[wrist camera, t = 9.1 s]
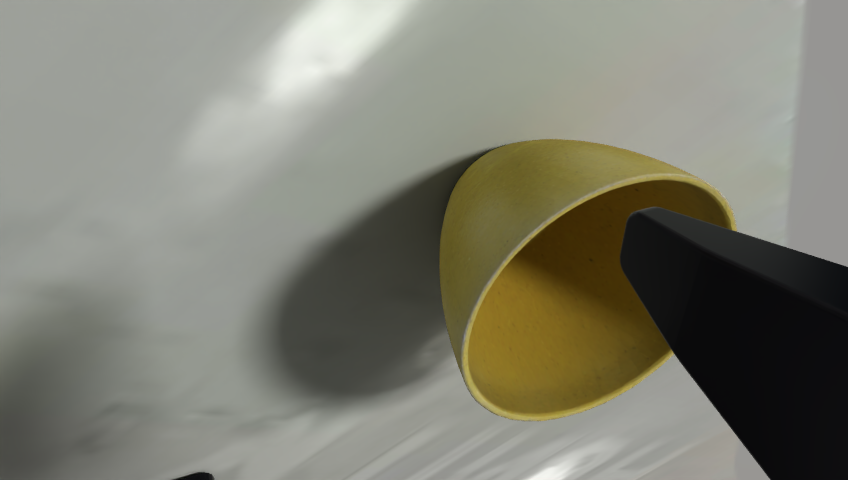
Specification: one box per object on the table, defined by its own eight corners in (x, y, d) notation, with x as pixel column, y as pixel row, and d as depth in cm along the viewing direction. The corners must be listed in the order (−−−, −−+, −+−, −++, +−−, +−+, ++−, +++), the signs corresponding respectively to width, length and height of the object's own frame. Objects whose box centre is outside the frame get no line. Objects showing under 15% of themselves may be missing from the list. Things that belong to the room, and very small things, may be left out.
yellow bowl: (603, 257, 30) (708, 363, 25) (403, 327, 28) (470, 460, 22) (624, 52, 24) (770, 134, 18) (368, 120, 22) (449, 236, 16)
